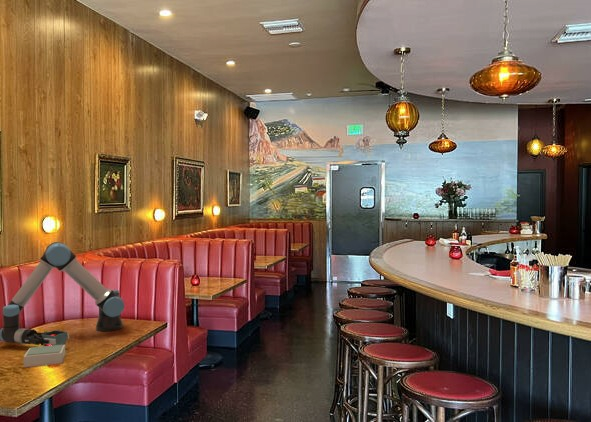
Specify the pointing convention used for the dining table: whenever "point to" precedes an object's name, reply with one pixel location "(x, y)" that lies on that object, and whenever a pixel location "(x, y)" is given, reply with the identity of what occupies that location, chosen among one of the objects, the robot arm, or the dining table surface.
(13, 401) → the dining table surface
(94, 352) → the dining table surface
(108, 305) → the robot arm
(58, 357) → the grey box
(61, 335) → the flower pot
